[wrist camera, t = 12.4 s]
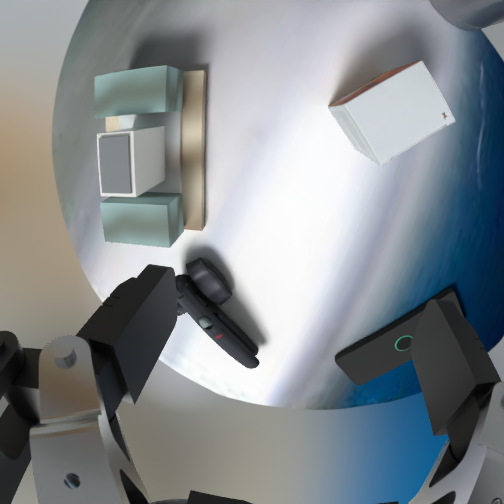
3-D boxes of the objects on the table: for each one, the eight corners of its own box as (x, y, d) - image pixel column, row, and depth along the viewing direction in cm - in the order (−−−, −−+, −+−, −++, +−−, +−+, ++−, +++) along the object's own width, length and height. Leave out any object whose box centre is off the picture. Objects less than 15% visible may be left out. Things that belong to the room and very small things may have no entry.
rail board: (111, 81, 29) (80, 79, 23) (206, 71, 28) (187, 63, 22) (117, 220, 37) (91, 239, 31) (204, 226, 36) (188, 249, 30)
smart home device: (467, 325, 36) (358, 387, 43) (463, 319, 37) (356, 379, 45) (454, 289, 34) (333, 360, 41) (449, 283, 35) (332, 352, 43)
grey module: (134, 179, 32) (99, 197, 26) (132, 127, 30) (95, 134, 23) (165, 179, 32) (134, 198, 25) (164, 125, 29) (131, 131, 23)
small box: (385, 72, 25) (423, 57, 16) (412, 116, 27) (458, 121, 18) (325, 106, 28) (341, 102, 19) (354, 150, 30) (381, 167, 20)
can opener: (166, 270, 39) (150, 292, 34) (208, 248, 37) (195, 270, 32) (236, 360, 45) (229, 387, 40) (276, 347, 43) (273, 375, 38)
